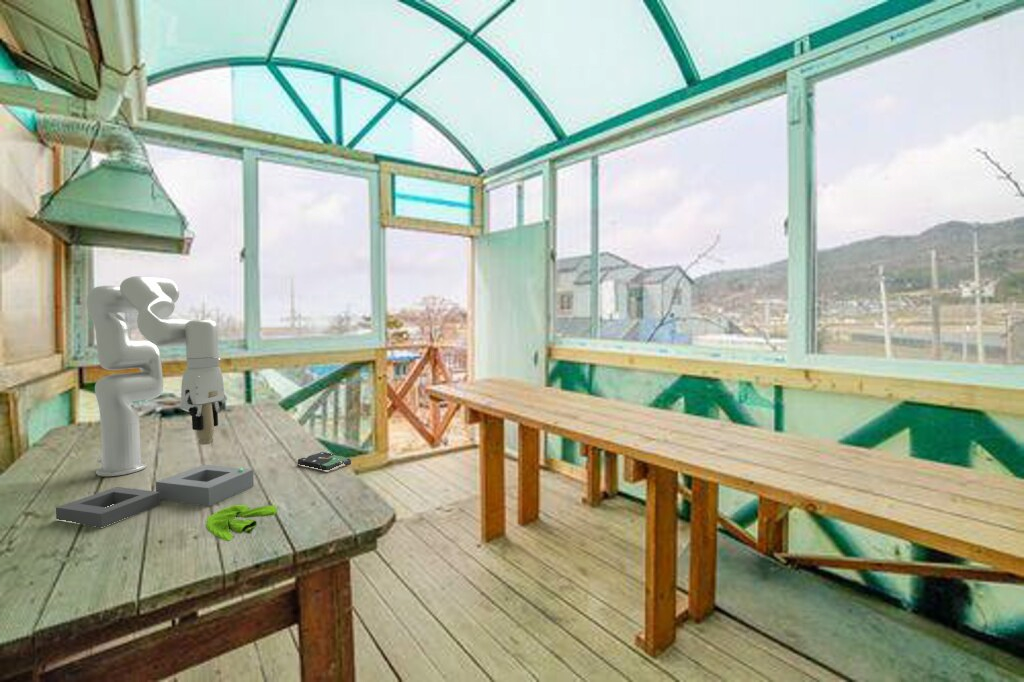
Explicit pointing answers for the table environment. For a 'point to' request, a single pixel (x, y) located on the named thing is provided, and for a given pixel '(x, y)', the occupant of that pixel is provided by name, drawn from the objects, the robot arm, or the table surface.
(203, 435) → the handle
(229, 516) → the cloth
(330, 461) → the disk drive
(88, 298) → the robot arm
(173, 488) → the port block
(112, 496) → the grey square frame
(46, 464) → the table surface
